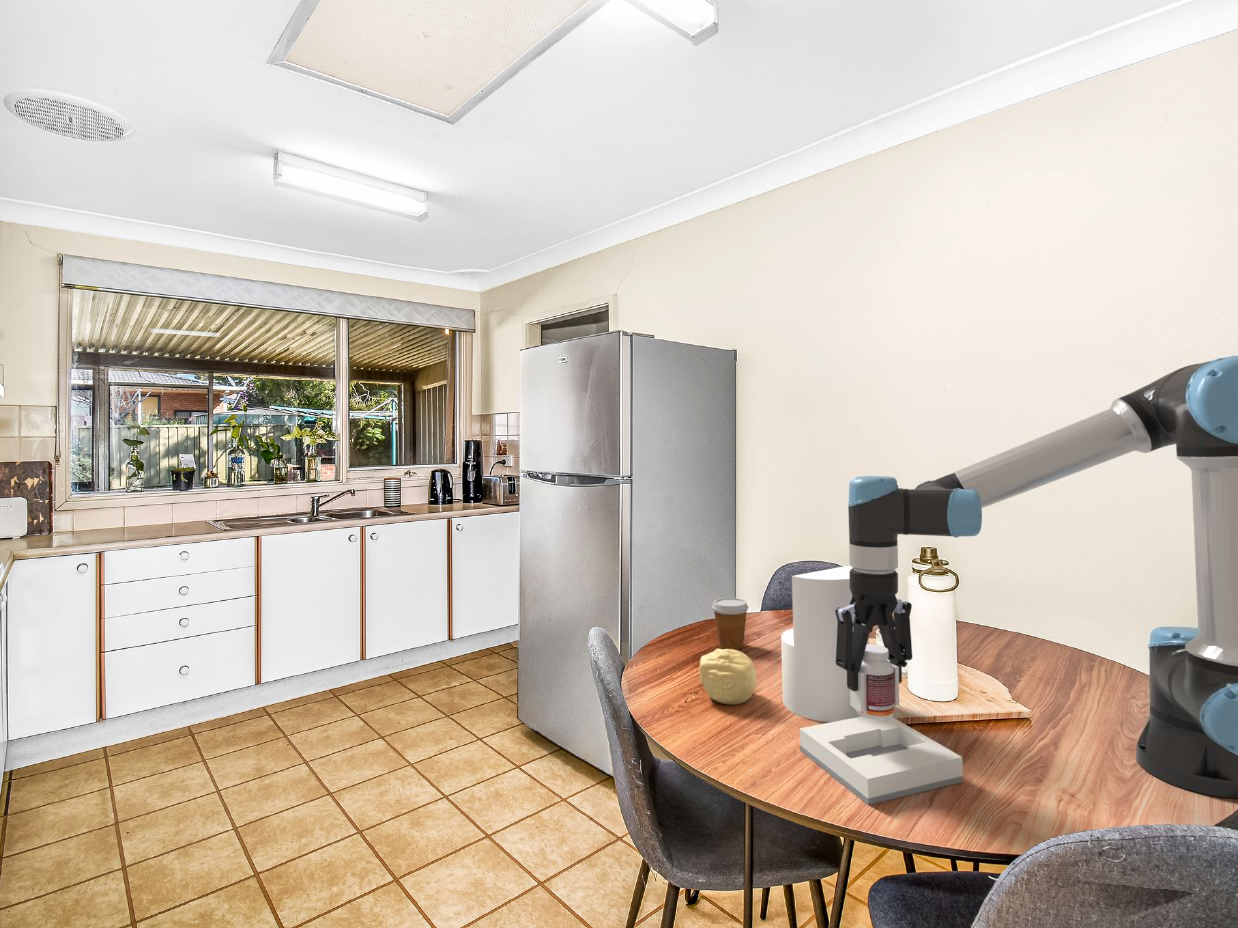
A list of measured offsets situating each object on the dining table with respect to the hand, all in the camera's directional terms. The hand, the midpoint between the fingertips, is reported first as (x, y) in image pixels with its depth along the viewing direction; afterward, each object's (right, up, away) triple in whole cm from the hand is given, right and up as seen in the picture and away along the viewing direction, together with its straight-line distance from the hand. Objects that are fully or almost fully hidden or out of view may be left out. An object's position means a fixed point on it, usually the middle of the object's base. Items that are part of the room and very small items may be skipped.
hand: (874, 704), depth 107 cm
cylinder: (0, -10, +25) cm, 27 cm away
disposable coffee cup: (-13, -8, +63) cm, 65 cm away
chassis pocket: (0, -10, 0) cm, 10 cm away
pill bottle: (0, -2, 0) cm, 2 cm away
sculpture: (-19, -10, +30) cm, 37 cm away
